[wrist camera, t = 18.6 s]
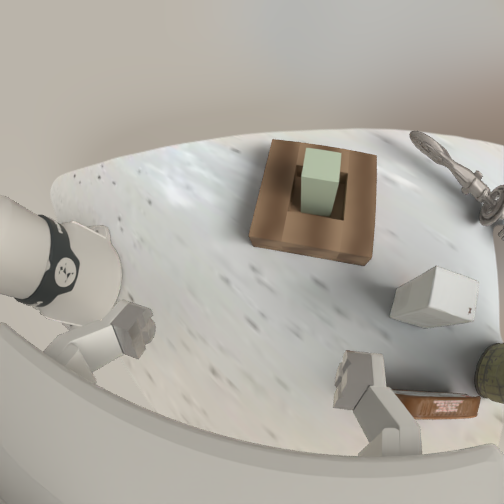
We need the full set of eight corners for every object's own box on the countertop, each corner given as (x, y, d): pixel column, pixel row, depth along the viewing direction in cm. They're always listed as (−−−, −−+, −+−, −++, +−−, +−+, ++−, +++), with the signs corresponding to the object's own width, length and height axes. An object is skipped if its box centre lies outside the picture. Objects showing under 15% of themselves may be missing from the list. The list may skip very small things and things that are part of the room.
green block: (300, 212, 37) (301, 176, 28) (305, 186, 38) (306, 147, 29) (330, 217, 36) (338, 182, 27) (333, 191, 37) (341, 152, 28)
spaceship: (423, 107, 31) (419, 120, 27) (554, 240, 25) (561, 271, 21) (402, 143, 38) (393, 162, 34) (528, 262, 31) (531, 293, 27)
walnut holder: (253, 246, 37) (248, 236, 34) (274, 155, 41) (272, 139, 37) (364, 266, 34) (371, 257, 30) (370, 170, 38) (376, 155, 34)
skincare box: (432, 298, 31) (481, 281, 20) (425, 329, 30) (474, 323, 19) (395, 286, 33) (436, 263, 21) (387, 317, 32) (427, 308, 20)
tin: (365, 405, 29) (385, 423, 21) (372, 382, 30) (394, 394, 22) (455, 409, 26) (487, 421, 18) (461, 388, 27) (494, 396, 19)
